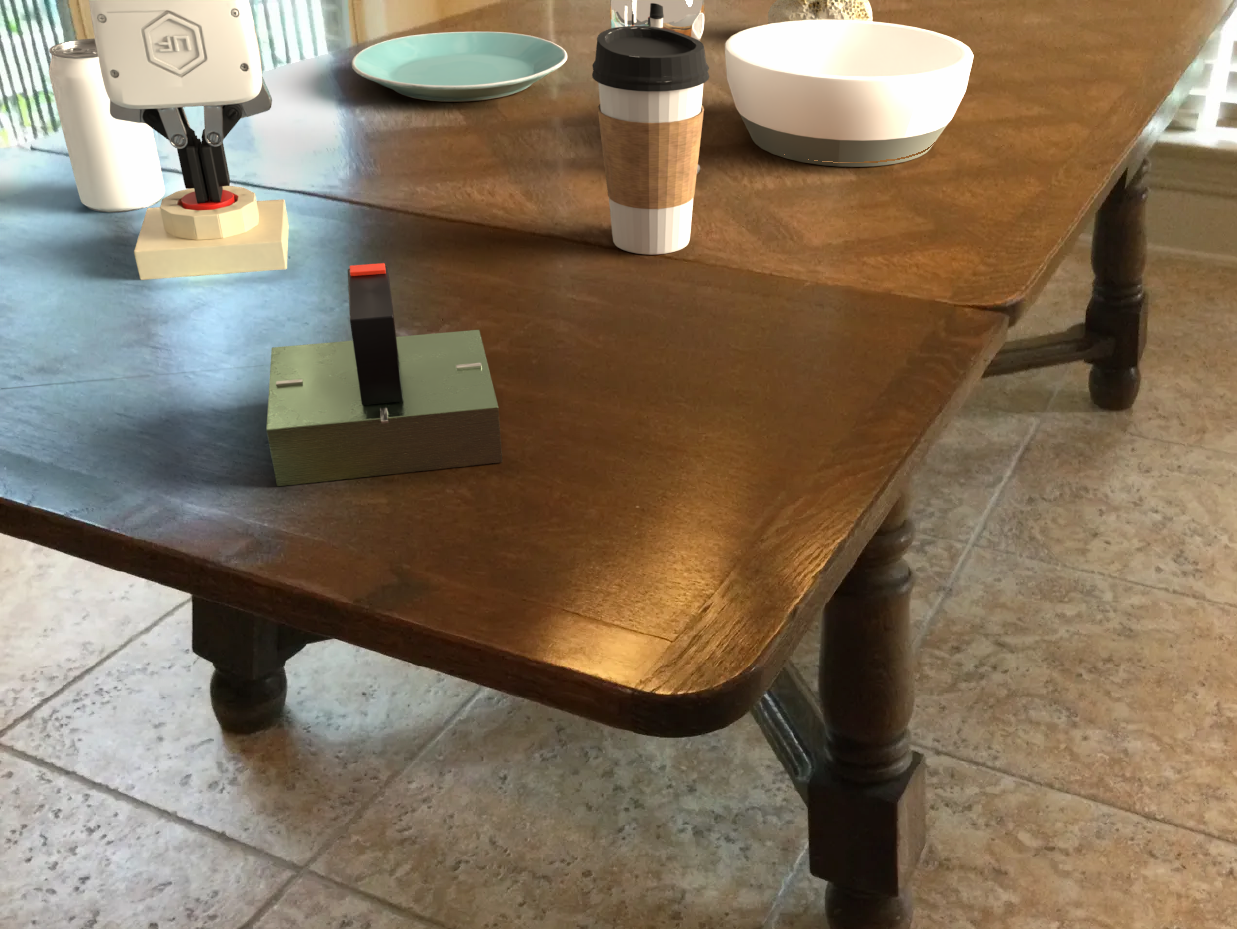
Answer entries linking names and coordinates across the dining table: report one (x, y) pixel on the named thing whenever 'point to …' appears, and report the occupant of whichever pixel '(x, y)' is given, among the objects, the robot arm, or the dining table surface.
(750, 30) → the bowl
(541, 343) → the dining table surface
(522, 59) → the plate
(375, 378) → the black rectangular case
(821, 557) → the dining table surface
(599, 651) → the dining table surface
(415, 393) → the green lever base box
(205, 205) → the release button
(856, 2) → the decorative item
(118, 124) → the can
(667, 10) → the wineglass
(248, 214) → the box
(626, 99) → the coffee cup
